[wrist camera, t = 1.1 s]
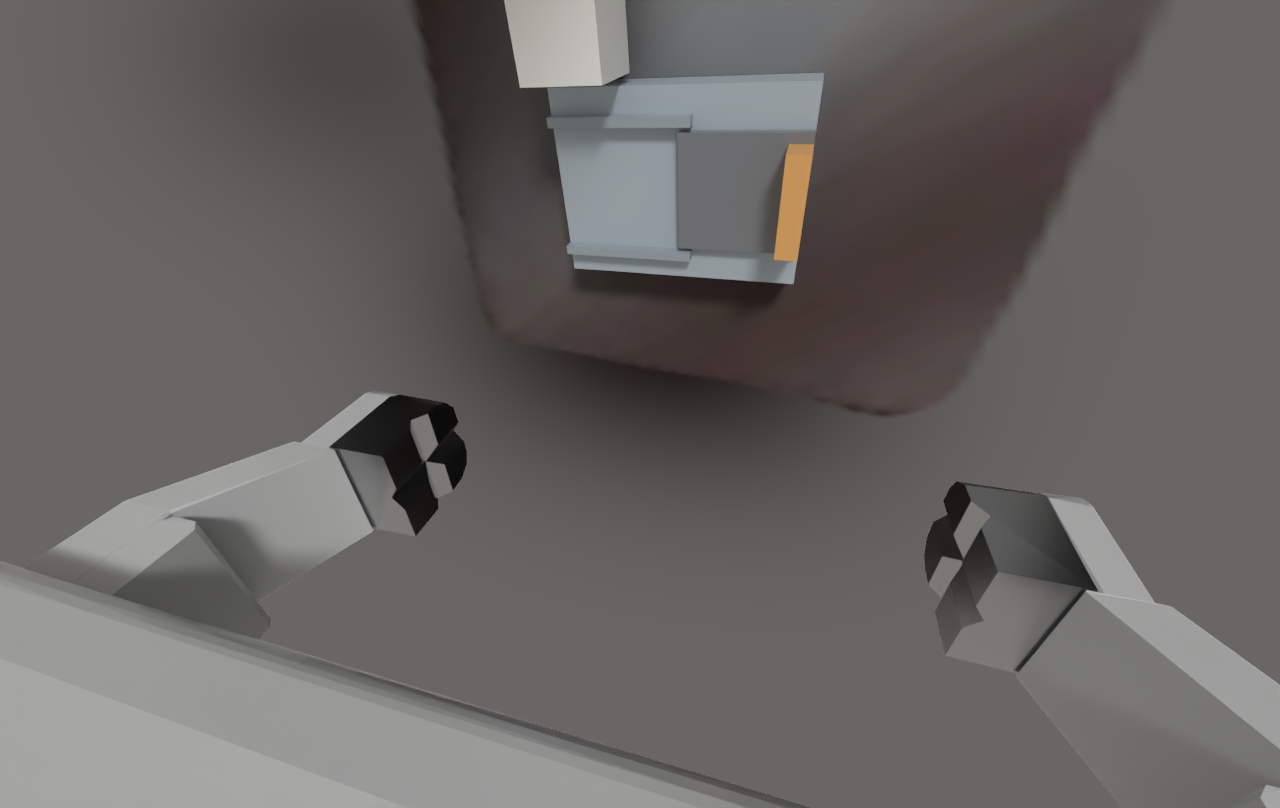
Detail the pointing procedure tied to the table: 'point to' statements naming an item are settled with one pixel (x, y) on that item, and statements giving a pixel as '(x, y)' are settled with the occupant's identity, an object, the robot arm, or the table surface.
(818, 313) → the table surface
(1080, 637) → the robot arm
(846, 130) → the table surface
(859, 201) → the table surface
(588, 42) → the white block
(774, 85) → the socket
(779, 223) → the shutter
